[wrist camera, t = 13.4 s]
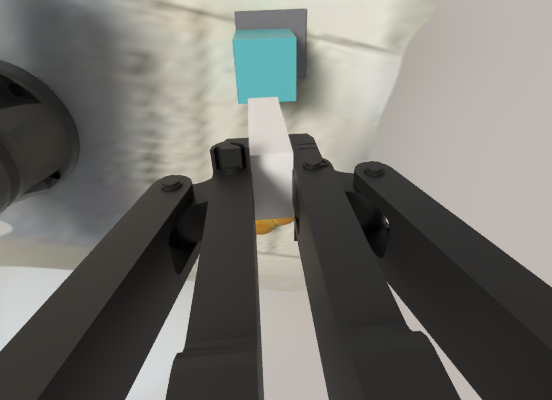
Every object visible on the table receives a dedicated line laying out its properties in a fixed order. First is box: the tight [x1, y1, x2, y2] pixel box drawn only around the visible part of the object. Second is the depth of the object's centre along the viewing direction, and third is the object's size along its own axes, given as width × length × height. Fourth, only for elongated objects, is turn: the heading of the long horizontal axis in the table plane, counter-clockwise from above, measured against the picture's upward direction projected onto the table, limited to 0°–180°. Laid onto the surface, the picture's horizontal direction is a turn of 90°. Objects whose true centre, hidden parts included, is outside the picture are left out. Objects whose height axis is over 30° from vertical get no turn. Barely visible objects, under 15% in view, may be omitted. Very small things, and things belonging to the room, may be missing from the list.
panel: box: [235, 9, 306, 78], centre depth 34 cm, size 7×6×1 cm
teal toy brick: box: [232, 28, 296, 104], centre depth 31 cm, size 5×5×7 cm
